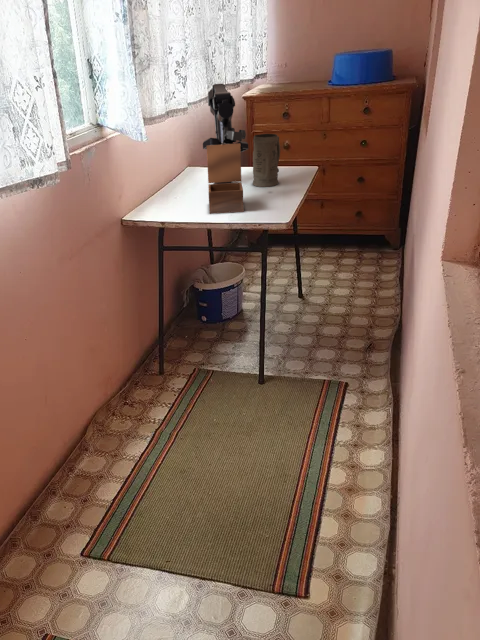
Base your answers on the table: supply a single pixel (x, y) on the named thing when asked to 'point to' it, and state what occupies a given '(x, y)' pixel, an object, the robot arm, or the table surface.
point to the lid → (224, 163)
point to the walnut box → (225, 198)
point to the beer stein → (266, 160)
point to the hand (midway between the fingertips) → (227, 168)
